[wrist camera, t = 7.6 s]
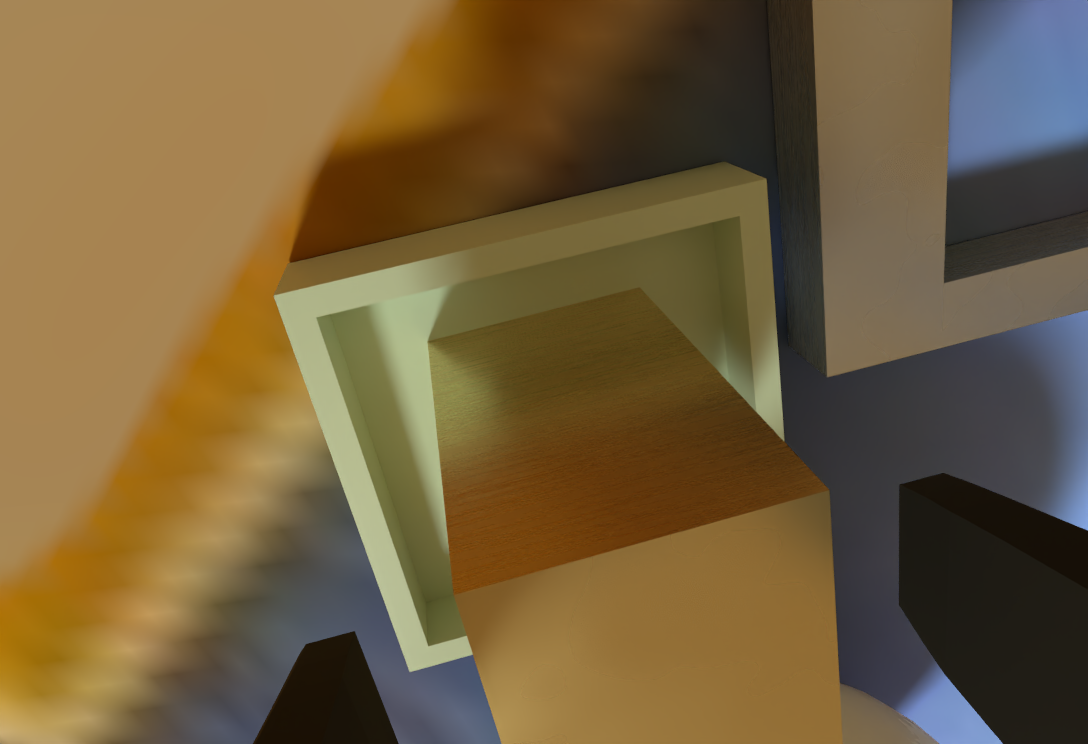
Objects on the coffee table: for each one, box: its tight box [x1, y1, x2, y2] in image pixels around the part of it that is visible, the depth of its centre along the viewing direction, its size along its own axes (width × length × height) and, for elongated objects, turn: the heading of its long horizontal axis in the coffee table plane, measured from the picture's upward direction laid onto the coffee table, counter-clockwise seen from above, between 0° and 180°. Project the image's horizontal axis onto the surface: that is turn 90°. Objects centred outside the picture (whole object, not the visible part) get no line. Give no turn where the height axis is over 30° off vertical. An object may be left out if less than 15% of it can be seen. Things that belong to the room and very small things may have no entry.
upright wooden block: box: [427, 287, 843, 744], centre depth 12 cm, size 4×4×7 cm
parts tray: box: [274, 161, 784, 672], centre depth 15 cm, size 8×8×2 cm
